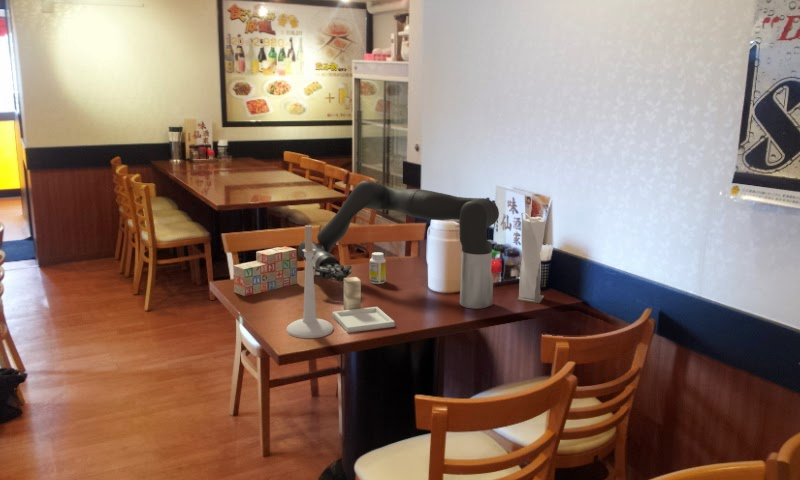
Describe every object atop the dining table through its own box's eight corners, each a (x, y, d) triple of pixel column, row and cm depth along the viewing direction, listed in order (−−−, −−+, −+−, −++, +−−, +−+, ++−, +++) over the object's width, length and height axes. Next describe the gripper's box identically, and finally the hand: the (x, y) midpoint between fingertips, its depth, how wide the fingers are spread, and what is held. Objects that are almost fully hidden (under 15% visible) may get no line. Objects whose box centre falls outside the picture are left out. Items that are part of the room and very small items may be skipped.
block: (356, 308, 207) (356, 276, 204) (360, 312, 203) (360, 280, 201) (343, 309, 205) (343, 278, 203) (347, 313, 201) (347, 281, 199)
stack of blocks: (245, 297, 216) (243, 259, 213) (233, 292, 220) (232, 256, 217) (297, 283, 231) (297, 248, 229) (286, 279, 236) (285, 245, 233)
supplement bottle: (384, 279, 237) (384, 251, 235) (386, 284, 232) (387, 255, 230) (368, 280, 236) (368, 251, 234) (370, 284, 231) (370, 255, 229)
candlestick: (335, 336, 183) (335, 228, 176) (287, 339, 181) (285, 229, 174) (330, 320, 195) (329, 218, 189) (285, 323, 193) (283, 220, 186)
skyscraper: (513, 299, 217) (517, 214, 211) (518, 292, 225) (523, 209, 218) (539, 303, 214) (545, 216, 208) (544, 296, 222) (550, 212, 215)
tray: (377, 311, 204) (377, 306, 204) (394, 326, 191) (394, 321, 191) (332, 316, 199) (332, 311, 198) (347, 332, 186) (347, 327, 186)
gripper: (306, 255, 224) (320, 268, 208) (344, 252, 229) (361, 265, 213) (306, 276, 225) (321, 292, 210) (344, 273, 230) (361, 288, 215)
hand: (341, 278), depth 211 cm, fingers closed
